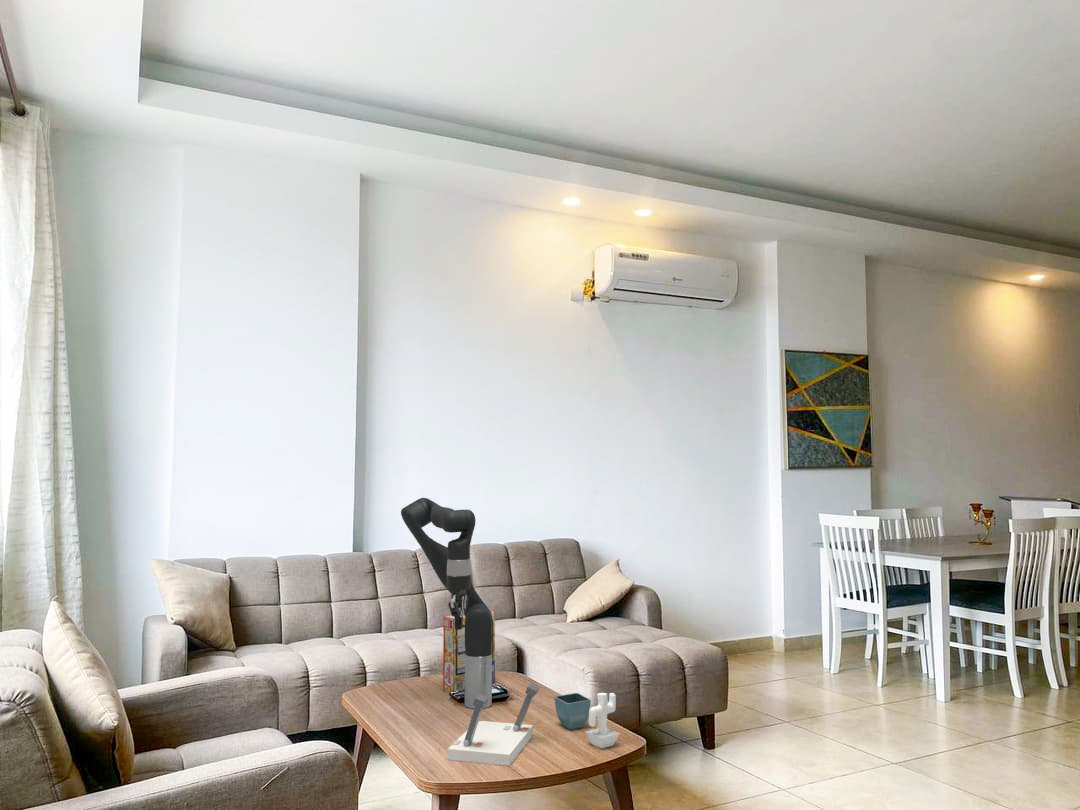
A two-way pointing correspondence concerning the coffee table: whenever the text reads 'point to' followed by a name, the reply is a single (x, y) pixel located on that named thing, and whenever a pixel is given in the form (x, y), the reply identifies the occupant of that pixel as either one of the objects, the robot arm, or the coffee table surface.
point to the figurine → (602, 721)
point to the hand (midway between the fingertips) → (458, 629)
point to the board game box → (458, 654)
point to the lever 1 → (475, 718)
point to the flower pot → (572, 710)
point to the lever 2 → (525, 705)
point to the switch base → (492, 744)
